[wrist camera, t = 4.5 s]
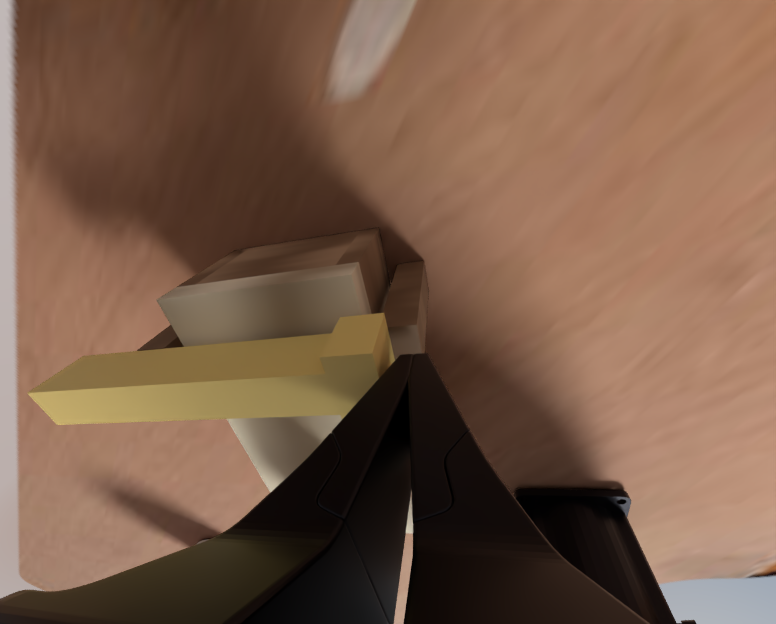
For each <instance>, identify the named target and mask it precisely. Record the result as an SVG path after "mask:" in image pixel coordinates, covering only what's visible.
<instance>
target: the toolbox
mask: <svg viewBox="0 0 776 624" xmlns="http://www.w3.org/2000/svg"><path fill="white" fill-rule="evenodd" d="M355 262H359V266H360V270H361V274H362V278H363V282H364V286H365V290H366V294H367V298H368V302H369V306H370V310H371V314H377V313H384V314H385V318H386V323H387V327H388V332H389V336H390V340H391V345H392V349H393V354H394V358H395V360H396V359H397V358H398V356H399V355H402V354H416V353H425V338H426V324H427V310H428V295H429V289H428V283H427V276H426V269H425V262H424V261H418V262H411V263H403V264H397V268H396V271H395V274H394V278H393V281H392V284H390V280H389V275H388V270H387V265H386V260H385V255H384V251H383V246H382V241H381V236H380V231H379V228H372V229H366V230H360V231H354V232H347V233H341V234H335V235H329V236H322V237H316V238H310V239H303V240H297V241H291V242H285V243H278V244H272V245H266V246H259V247H253V248H247V249H241V250H235V251H233V252H232V253H230V254H228V255H227V256H225V257H224V258H222V259H220V260H219V261H217V262H216V263H214V264H212V265H211V266H209V267H208V268H206V269H205V270H203V271H201V272H200V273H198V274H197V275H195V276H193V277H192V278H190V279H189V280H187V281H186V282H184V283H182V284H181V285H179V286H178V287H182V286H189V285H196V284H203V283H211V282H218V281H225V280H232V279H240V278H247V277H254V276H261V275H269V274H276V273H283V272H290V271H298V270H305V269H312V268H319V267H327V266H334V265H341V264H348V263H355ZM177 347H184V346H183V344H182V343H181V341H180V339H179V337H178V336H177V334H176V332H175V331H174V329H173V327H172V326H171V325H170V326H169V327H167V328H166V329H165V330H163V331H162V332H161V333H159V334H158V335H157V336H155V337H154V338H153V339H151V340H150V341H149V342H148V343H146V344H145V345H144V346H142V347H141V348H140V349H138V350H137V351H144V350H155V349H166V348H177Z"/></svg>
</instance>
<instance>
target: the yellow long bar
mask: <svg viewBox="0 0 776 624" xmlns="http://www.w3.org/2000/svg"><path fill="white" fill-rule="evenodd" d="M394 361H395V358H394V354H393V349H392V345H391V340H390V336H389V332H388V327H387V323H386V318H385V314H384V313H377V314H367V315H357V316H347V317H340V318H339V320H338V322H337V324H336V326H335V328H334V330H333V332H332V333H330V334H319V335H308V336H297V337H286V338H276V339H265V340H254V341H243V342H232V343H221V344H210V345H199V346H188V347H177V348H166V349H155V350H144V351H133V352H122V353H111V354H100V355H89V356H83V357H81V358H80V359H78V360H77V361H75V362H74V363H72V364H70V365H69V366H67V367H66V368H64V369H63V370H61V371H60V372H58V373H57V374H55V375H54V376H52V377H51V378H49V379H48V380H46V381H45V382H43V383H42V384H40V385H39V386H37V387H36V388H34V389H32V390H31V391H29V392H28V394H29V395H30V397H31V398H32V399H33V400H34V401H35V402H36V403H37V404H38V405H39V406H40V407H41V408H42V409H43V410H44V411H45V412H46V414H47V415H48V416H49V417H50V418H51V419H52V420H53V421H54V422H55V423H56V424H57V425H65V424H94V423H123V422H151V421H180V420H209V419H237V418H266V417H294V416H323V415H340V416H341V418H342V419H343V418H344V417H345V416H346V415H347V413H348V412H349V411H350V410H351V409H352V408H353V407H354V406H355V405H356V403H357V402H358V401H359V400H360V399H361V398H362V397H363V396H364V394H365V393H366V392H367V391H368V390H369V389H370V388H371V387H372V386H373V384H374V383H375V382H376V381H377V380H378V379H379V378H380V377H381V375H382V374H383V373H384V372H385V371H386V370H387V369H388V368H389V366H390V365H391V364H392V363H393V362H394Z"/></svg>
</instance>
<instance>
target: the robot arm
mask: <svg viewBox="0 0 776 624" xmlns="http://www.w3.org/2000/svg"><path fill="white" fill-rule="evenodd" d="M411 490H412V518H413V558H412V566H411V573H410V581H409V588H408V596H407V603H406V611H405V618H404V624H696V622H695V621H694V620H685V621H681V622H682V623H676V621H675V619H674V617H673V615H672V613H671V611H670V608H669V606H668V604H667V602H666V600H665V598H664V596H663V593H662V591H661V589H660V587H659V585H658V583H657V581H656V579H655V576H654V574H653V572H652V570H651V568H650V566H649V564H648V562H647V559H646V557H645V555H644V553H643V551H642V549H641V547H640V544H639V542H638V540H637V538H636V536H635V534H634V532H633V530H632V527H631V525H630V523H629V521H628V519H627V516H628V512H629V508H630V504H631V499H630V497H629V495H628V493H627V492H625V491H621V490H564V489H519V490H516V491H515V493H514V496H513V495H512V493H511V492H510V491H509V489H508V488H507V487H506V485H505V484H504V483H503V481H502V480H501V479H500V477H499V476H498V474H497V473H496V471H495V470H494V469H493V467H492V466H491V464H490V463H489V461H488V460H487V458H486V457H485V455H484V453H483V452H482V450H481V448H480V447H479V445H478V443H477V442H476V440H475V438H474V436H473V434H472V432H470V429H469V427H468V425H467V424H466V422H465V420H464V418H463V416H462V414H461V413H460V411H459V409H458V407H457V405H456V403H455V402H454V400H453V398H452V396H451V394H450V393H449V391H448V389H447V387H446V385H445V383H444V382H443V380H442V378H441V376H440V374H439V372H438V371H437V369H436V367H435V365H434V363H433V361H432V360H431V358H430V356H429V354H428V353H416V354H402V355H399V356H398V358H397V359H396V360H395V361H394V362H393V363H392V364H391V365H390V366H389V368H388V369H387V370H386V371H385V372H384V373H383V374H382V375H381V377H380V378H379V379H378V380H377V381H376V382H375V383H374V384H373V386H372V387H371V388H370V389H369V390H368V391H367V392H366V393H365V394H364V396H363V397H362V398H361V399H360V400H359V401H358V402H357V403H356V405H355V406H354V407H353V408H352V409H351V410H350V411H349V412H348V413H347V415H346V416H345V417H344V418H343V419H342V420H341V421H340V422H339V424H338V425H337V426H336V427H335V428H334V429H333V430H332V433H330V434H329V435H328V436H327V437H326V438H325V439H324V440H323V441H322V442H321V443H320V445H319V446H318V447H317V448H316V449H315V450H314V451H313V452H312V453H311V454H310V455H309V456H308V457H307V458H306V459H305V460H304V461H303V462H302V463H301V464H300V465H299V466H298V467H297V468H296V469H295V470H294V471H293V472H292V473H291V474H290V475H289V476H288V477H287V478H286V479H285V480H283V481H282V482H281V483H280V484H279V485H278V486H277V487H276V488H275V489H274V490H273V491H272V492H271V493H269V494H268V495H267V496H266V497H265V498H264V499H263V500H262V501H261V502H260V503H259V504H258V505H257V506H255V507H254V508H253V509H252V510H251V511H250V512H249V513H248V514H247V515H246V516H245V517H243V518H242V519H241V520H240V521H239V522H238V523H236V524H235V525H234V526H232V527H231V528H230V529H228V530H226V531H225V532H223V533H222V534H220V535H218V536H216V537H214V538H212V539H209V540H207V541H205V542H202V543H199V544H196V545H194V546H191V547H188V548H186V549H183V550H180V551H178V552H175V553H172V554H169V555H167V556H164V557H161V558H159V559H156V560H153V561H151V562H148V563H145V564H143V565H140V566H137V567H134V568H132V569H129V570H126V571H124V572H121V573H118V574H116V575H113V576H110V577H108V578H105V579H102V580H99V581H96V582H93V583H90V584H87V585H83V586H80V587H76V588H72V589H67V590H61V591H51V592H46V591H37V590H22V591H18V592H15V593H13V594H10V595H8V596H6V597H3V598H1V599H0V624H393V623H394V616H395V608H396V601H397V593H398V586H399V579H400V571H401V564H402V556H403V549H404V541H405V534H406V527H407V519H408V512H409V504H410V497H411Z"/></svg>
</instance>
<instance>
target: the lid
mask: <svg viewBox="0 0 776 624" xmlns="http://www.w3.org/2000/svg"><path fill="white" fill-rule="evenodd" d="M157 302H158V304H159V305H160V307H161V309H162V310H163V312H164V314H165V316H166V317H167V319H168V321H169V322H170V324H171V326H172V327H173V329H174V331H175V332H176V334H177V336H178V337H179V339H180V341H181V343H182V344H183V346H184V347H188V346H199V345H210V344H221V343H232V342H243V341H254V340H265V339H276V338H286V337H297V336H308V335H319V334H330V333H332V332H333V330H334V328H335V326H336V324H337V322H338V320H339V318H340V317H347V316H357V315H367V314H371V310H370V306H369V302H368V298H367V294H366V290H365V286H364V282H363V278H362V274H361V270H360V266H359V262H355V263H348V264H341V265H334V266H327V267H319V268H312V269H305V270H298V271H290V272H283V273H276V274H269V275H261V276H254V277H247V278H240V279H232V280H225V281H218V282H211V283H203V284H196V285H189V286H182V287H176V288H174V289H173V290H171V291H170V292H168V293H166V294H165V295H163V296H162V297H160V298H159V299H157ZM227 420H228V422H229V424H230V425H231V427H232V429H233V430H234V432H235V434H236V435H237V437H238V439H239V440H240V442H241V444H242V446H243V447H244V449H245V451H246V452H247V454H248V456H249V457H250V459H251V461H252V462H253V464H254V466H255V467H256V469H257V471H258V473H259V474H260V476H261V478H262V479H263V481H264V483H265V484H266V486H267V488H268V489H269V491H270V493H271V492H272V491H273V490H274V489H275V488H276V487H277V486H278V485H279V484H280V483H281V482H282V481H283V480H285V479H286V478H287V477H288V476H289V475H290V474H291V473H292V472H293V471H294V470H295V469H296V468H297V467H298V466H299V465H300V464H301V463H302V462H303V461H304V460H305V459H306V458H307V457H308V456H309V455H310V454H311V453H312V452H313V451H314V450H315V449H316V448H317V447H318V446H319V445H320V443H321V442H322V441H323V440H324V439H325V438H326V437H327V436H328V435H329V434H330V433H332V430H333V429H334V428H335V427H336V426H337V425H338V424H339V422H340V421H341V420H342V418H341V416H340V415H323V416H294V417H266V418H237V419H227ZM406 533H413V518H412V490H411V497H410V504H409V512H408V519H407V527H406Z"/></svg>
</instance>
